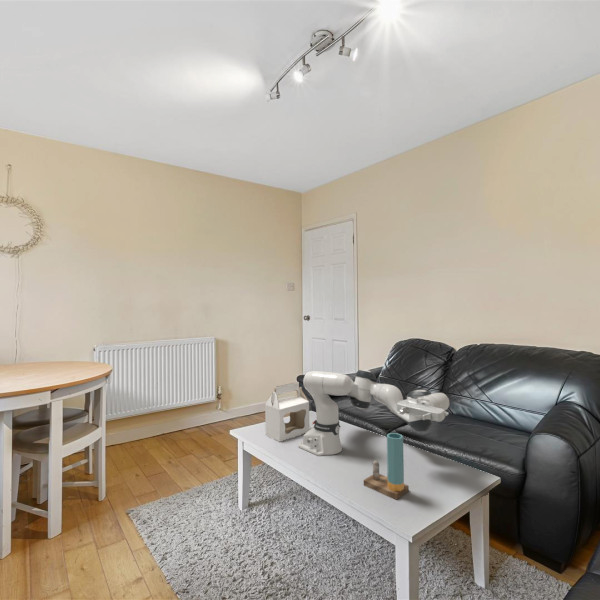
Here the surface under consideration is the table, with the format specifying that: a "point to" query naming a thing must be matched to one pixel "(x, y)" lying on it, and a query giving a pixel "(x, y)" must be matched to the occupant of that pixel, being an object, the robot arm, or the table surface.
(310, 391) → the robot arm
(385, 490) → the pin board
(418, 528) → the table surface
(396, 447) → the sleeve
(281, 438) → the gable box
